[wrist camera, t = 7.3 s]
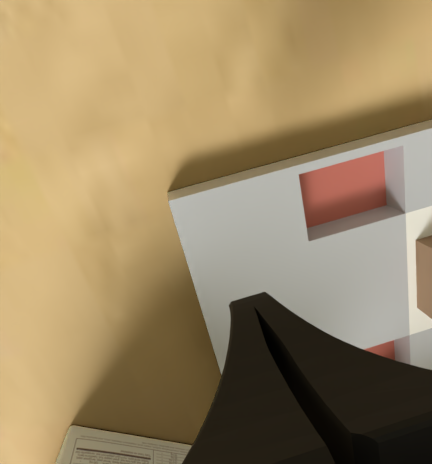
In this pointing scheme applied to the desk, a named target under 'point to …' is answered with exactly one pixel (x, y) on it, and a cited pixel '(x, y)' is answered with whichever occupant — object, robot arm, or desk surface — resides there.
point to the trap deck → (319, 241)
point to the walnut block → (424, 275)
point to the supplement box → (117, 448)
